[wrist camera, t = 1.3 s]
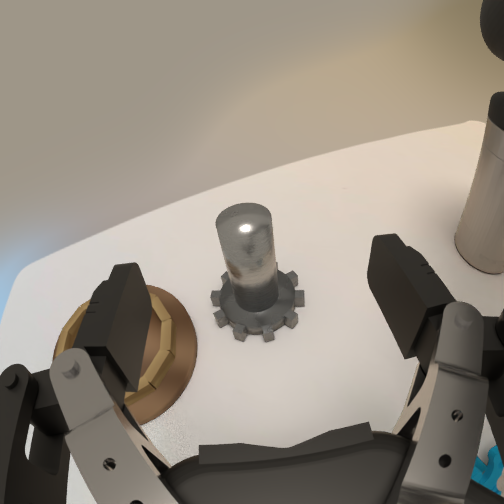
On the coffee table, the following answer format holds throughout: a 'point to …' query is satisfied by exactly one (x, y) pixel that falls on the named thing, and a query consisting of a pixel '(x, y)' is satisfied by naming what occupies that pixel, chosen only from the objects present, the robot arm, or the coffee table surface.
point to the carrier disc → (153, 355)
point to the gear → (489, 470)
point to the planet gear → (253, 275)
